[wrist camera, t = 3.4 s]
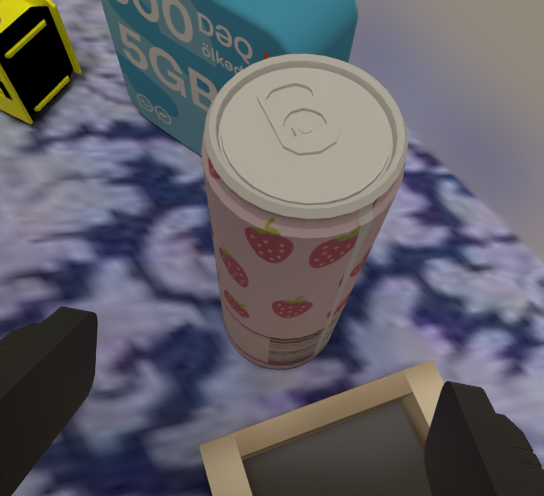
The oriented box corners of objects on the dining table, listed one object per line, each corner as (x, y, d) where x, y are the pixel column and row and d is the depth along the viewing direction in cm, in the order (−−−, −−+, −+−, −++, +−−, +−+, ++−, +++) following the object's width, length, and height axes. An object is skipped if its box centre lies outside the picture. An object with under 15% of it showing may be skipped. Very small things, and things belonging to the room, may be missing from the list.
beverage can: (274, 246, 28) (295, 16, 15) (355, 313, 27) (459, 122, 13) (200, 318, 26) (149, 127, 13) (283, 395, 25) (322, 266, 11)
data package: (131, 110, 32) (73, -85, 22) (179, 70, 34) (147, -130, 23) (282, 213, 29) (301, 47, 19) (327, 163, 31) (367, -16, 20)
